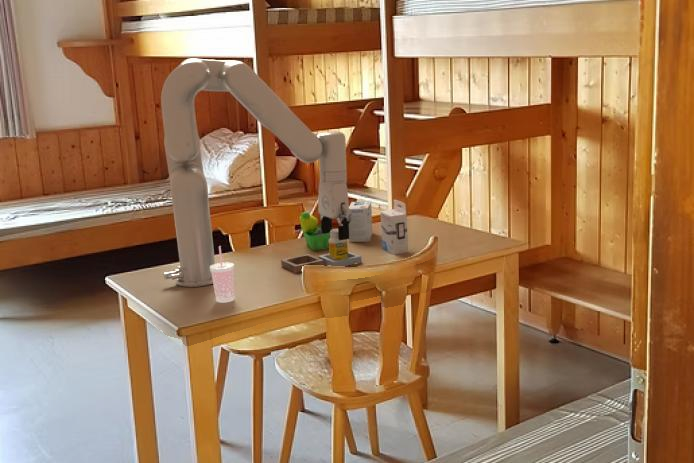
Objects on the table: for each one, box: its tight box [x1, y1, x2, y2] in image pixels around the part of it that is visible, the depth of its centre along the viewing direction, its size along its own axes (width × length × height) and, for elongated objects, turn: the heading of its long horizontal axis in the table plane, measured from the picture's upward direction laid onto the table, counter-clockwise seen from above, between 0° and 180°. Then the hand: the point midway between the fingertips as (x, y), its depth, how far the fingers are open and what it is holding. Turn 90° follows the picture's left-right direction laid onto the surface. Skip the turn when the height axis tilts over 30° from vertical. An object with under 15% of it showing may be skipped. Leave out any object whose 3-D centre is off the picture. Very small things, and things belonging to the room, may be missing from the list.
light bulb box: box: [348, 200, 374, 243], centre depth 262 cm, size 11×7×11 cm, turn 172°
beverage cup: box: [210, 245, 235, 304], centre depth 208 cm, size 6×6×14 cm
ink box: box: [380, 199, 409, 255], centre depth 243 cm, size 8×5×15 cm, turn 23°
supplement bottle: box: [328, 228, 349, 261], centre depth 235 cm, size 5×5×10 cm
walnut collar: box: [280, 253, 325, 274], centre depth 234 cm, size 9×9×2 cm
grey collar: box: [317, 250, 363, 267], centre depth 235 cm, size 9×9×2 cm
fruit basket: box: [299, 211, 331, 251], centre depth 255 cm, size 11×9×11 cm
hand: (335, 236), depth 234 cm, fingers open, 9 cm apart
